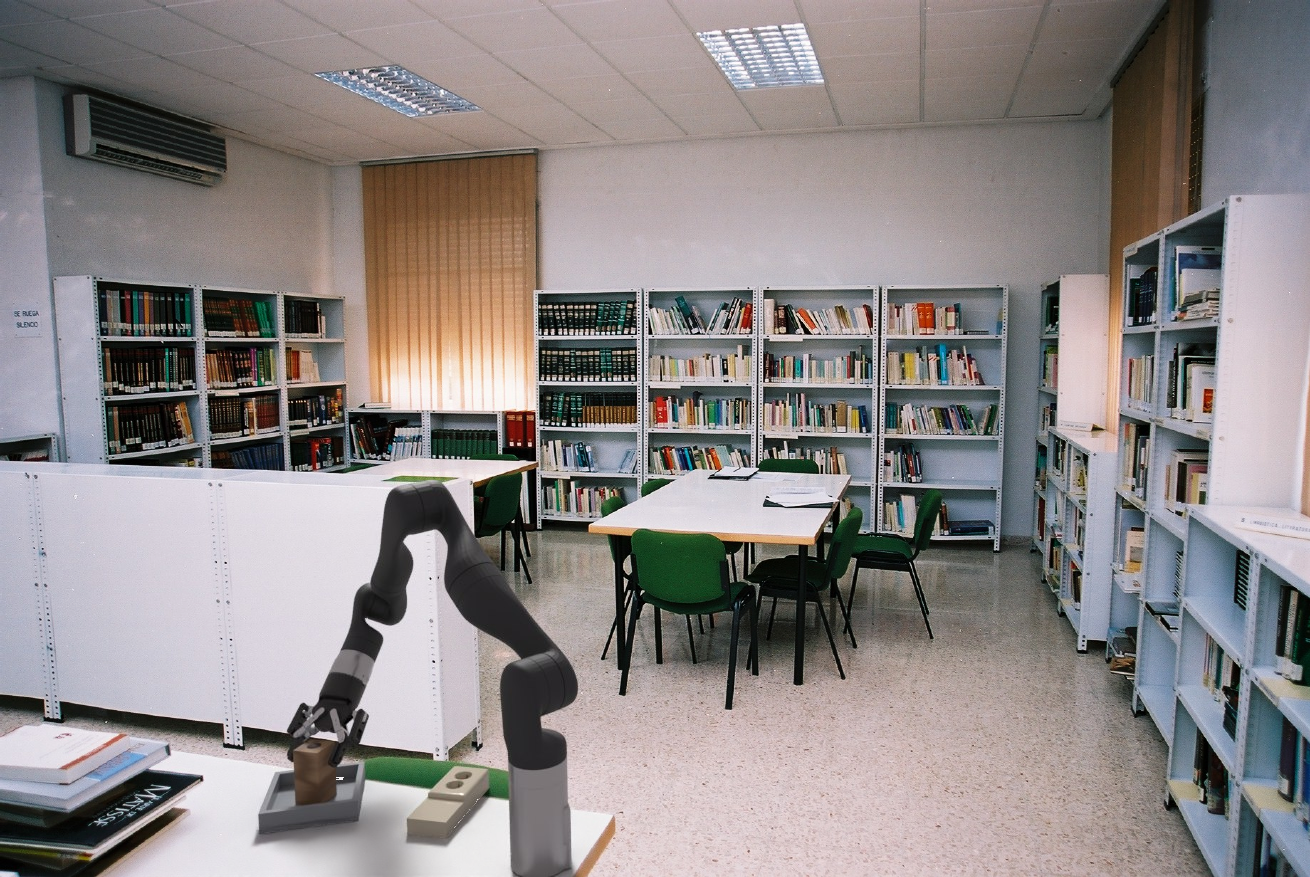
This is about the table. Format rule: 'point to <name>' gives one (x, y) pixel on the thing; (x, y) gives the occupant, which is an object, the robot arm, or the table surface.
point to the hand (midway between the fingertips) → (311, 763)
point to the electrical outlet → (448, 802)
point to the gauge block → (314, 772)
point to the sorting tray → (287, 816)
